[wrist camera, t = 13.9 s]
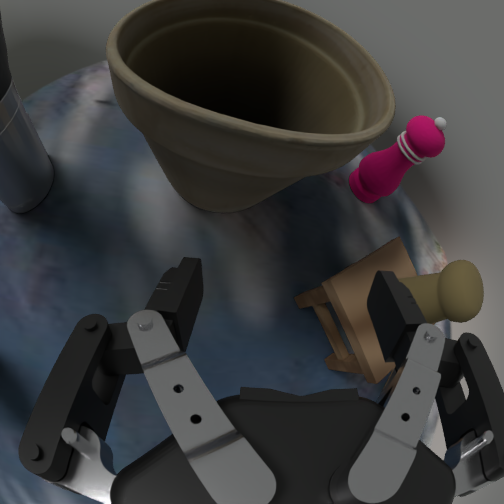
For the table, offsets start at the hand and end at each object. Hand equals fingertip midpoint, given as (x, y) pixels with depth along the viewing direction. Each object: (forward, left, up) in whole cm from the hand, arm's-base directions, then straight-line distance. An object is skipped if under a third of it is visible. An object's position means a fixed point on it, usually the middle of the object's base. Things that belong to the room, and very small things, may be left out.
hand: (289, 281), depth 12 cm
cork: (+5, +16, -11) cm, 20 cm away
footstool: (+5, +16, -20) cm, 26 cm away
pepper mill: (-13, +29, -21) cm, 38 cm away
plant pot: (-19, +5, -21) cm, 28 cm away
